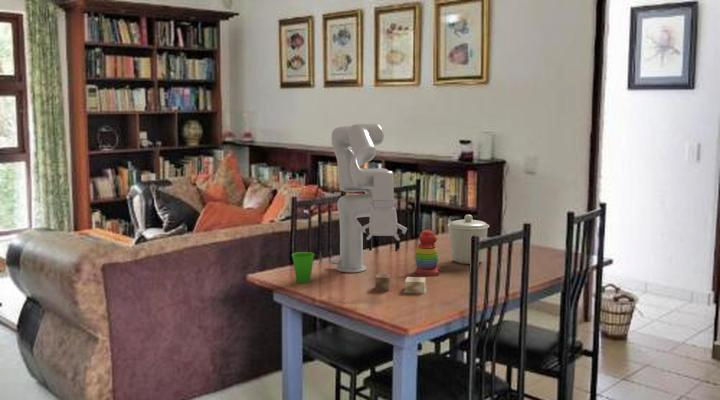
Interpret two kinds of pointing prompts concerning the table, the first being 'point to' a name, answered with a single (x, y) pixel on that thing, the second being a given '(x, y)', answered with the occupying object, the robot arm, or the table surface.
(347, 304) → the table surface
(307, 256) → the cup
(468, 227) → the canister
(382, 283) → the walnut cube
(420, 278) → the oak base block
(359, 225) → the robot arm
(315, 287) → the table surface
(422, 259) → the stacking bear
